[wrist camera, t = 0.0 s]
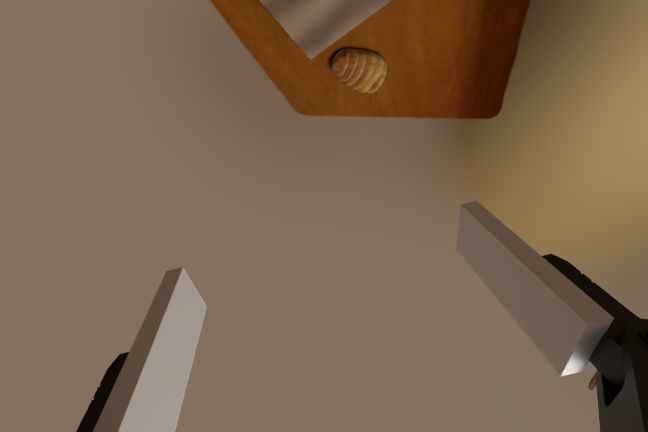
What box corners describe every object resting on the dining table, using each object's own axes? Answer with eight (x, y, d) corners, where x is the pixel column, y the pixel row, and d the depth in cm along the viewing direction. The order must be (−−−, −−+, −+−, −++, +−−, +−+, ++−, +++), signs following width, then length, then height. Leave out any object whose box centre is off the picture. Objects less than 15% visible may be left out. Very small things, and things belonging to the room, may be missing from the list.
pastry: (321, 70, 49) (326, 88, 47) (344, 35, 44) (350, 53, 42) (363, 86, 54) (369, 102, 53) (388, 56, 49) (395, 72, 48)
